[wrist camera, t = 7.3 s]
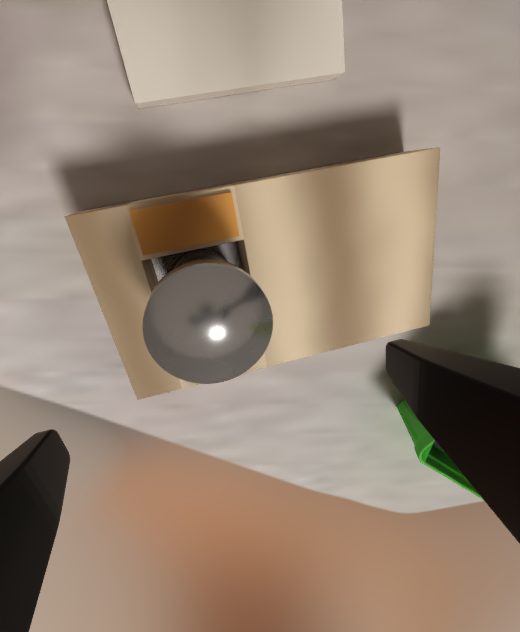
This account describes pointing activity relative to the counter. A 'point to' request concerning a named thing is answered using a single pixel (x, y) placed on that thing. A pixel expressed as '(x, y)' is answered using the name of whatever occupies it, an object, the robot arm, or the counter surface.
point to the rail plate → (279, 254)
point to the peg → (207, 320)
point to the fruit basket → (431, 449)
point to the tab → (225, 46)
